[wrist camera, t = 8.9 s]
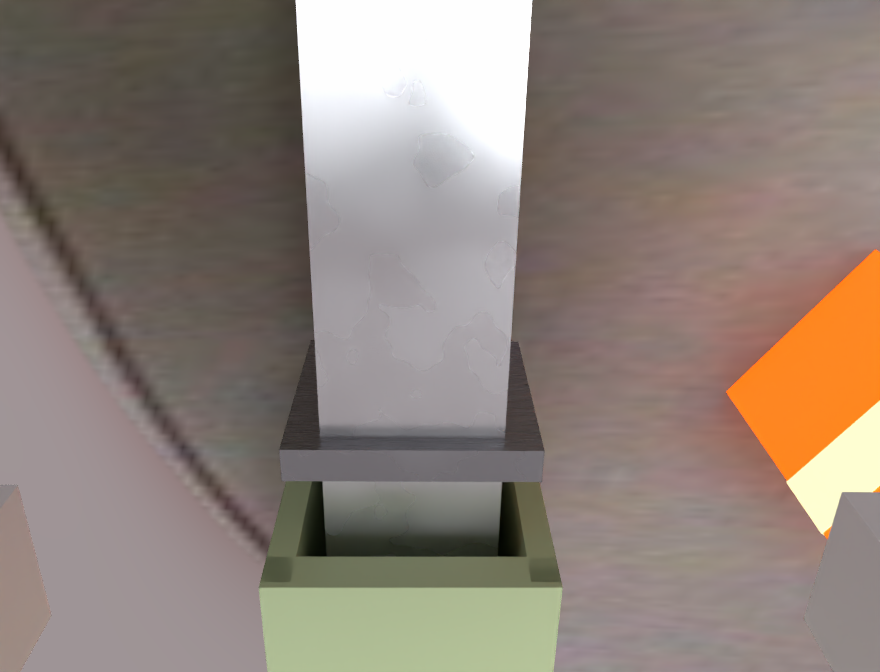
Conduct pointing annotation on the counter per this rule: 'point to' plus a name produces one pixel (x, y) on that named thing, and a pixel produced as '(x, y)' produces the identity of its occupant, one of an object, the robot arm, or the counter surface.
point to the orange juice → (823, 397)
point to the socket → (410, 597)
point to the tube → (413, 273)
